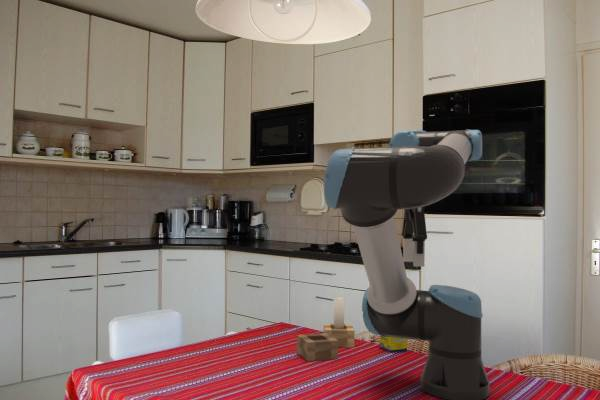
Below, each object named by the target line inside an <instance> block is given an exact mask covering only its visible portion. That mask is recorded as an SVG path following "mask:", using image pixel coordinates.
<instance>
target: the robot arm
mask: <svg viewBox="0 0 600 400" xmlns="http://www.w3.org/2000/svg"><path fill="white" fill-rule="evenodd" d="M482 156H483V135H482V131H480V129H465V130H463V129H462V130H446V131H445V130H444V131H426V130H422V129H409V130H400V131H397V132H396V133H394V135H392V136H391V138H390V141H389V145H388V146H386V147H385V146H380V147H361V148H356V147H355V146H353V147H351V148H340V149H336V150H335V151H334V152H332V154H331V155H330V157H329V158H328V162H327V163H326V167H325V173H324V180H323V181H324V182H323V194H324V201H325V204H326V206H327V207H328V208H330V209H333V210H337V209H339V210H340V213H341V217H342V219H343V220H344V221H345V223H346V224H348V225H349V226H352V227H353V231H354V234H355V238H356V241H357V244H358V248H359V252H360V256H361V259H362V263H363V265H364V269H365V272H366V273H365V274H366V276H367V279H368V283H369V284H368V285H369V286H368V288H366V290H365V291H364V293H363V297H362V300H361V301H362V302H361V311H362V320H363V323H364V325H365V328H366V329H367V331H368V332H369V333H370V334H372V335H376V336H379V337H380V336H383V337H394V338H404V339H407V340H415V341H423V342H428V356H427V358H426V361H425V364H424V367H423V371H422V372H421V375H420V376H421V377H420V388H421V389H422V391H424V392H425V393H427V394H429V395H430V396H434V397H436V398H440V399H444V400H484V399H487V398H488V397H489V396H490V381H489V379H488V375H487V372H486V369H485V366H484V362H483V360H482V359H483V358H482V319H483V316H484V314H483V309H482V299H481V297H480V295H478V294H477V293H475V292H473V291H471V290H468V289H464V288H461V287H456V286H450V285H441V284H432V285H430V286H429V288H428V290H424V289H423V290H421V289H417V287H416V285H415V283H414V281H412V280H411V279H410V277H407V271H406V266H405V262H413V265H412V266H413V267H425V248H426V247H425V243H426V240H427V239H428V236H427V226H426V225H427V224H426V217H425V207H426V206H427V207H428V206H430V205H432V204H435V203H437V202H440V201H441V200H443V199H445V198H446V197H448V196H450V195H451V194H452V193H454V192H455V191H456V190H457V189H458V188H459V186H460V185H461V184H462V182H463V180H464V178H465V174H466V164H467V162H471V161H479V160H481V158H482ZM399 210H403V212H404V213H403V220H402V227H401V228H402V230H401V236H402V238H403V246H402V247H403V248H402V249H401V244H400V239H399V234H398V229H397V224H396V219H395V216H396V215H397V214H398V211H399ZM402 251H403V252H402Z"/></svg>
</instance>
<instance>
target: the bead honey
mask: <svg viewBox="0 0 600 400" xmlns="http://www.w3.org/2000/svg"><path fill="white" fill-rule="evenodd" d="M322 333H327V334H328V335H330V336H332V337H333V338H335V339H337V340H338V348H355V328H354V326H353V324H352V323H344V329H334V323H323V331H322Z"/></svg>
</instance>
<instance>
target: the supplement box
mask: <svg viewBox="0 0 600 400" xmlns="http://www.w3.org/2000/svg"><path fill="white" fill-rule="evenodd" d="M379 348H380V349H383V350H385V351H387V352H389V353H392V354H394V353H401V352H400V351H402V352H407V351H408V339H404V338H394V337H383V336H380V335H379ZM405 350H406V351H405ZM393 352H394V353H393Z"/></svg>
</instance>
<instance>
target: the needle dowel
mask: <svg viewBox="0 0 600 400" xmlns="http://www.w3.org/2000/svg"><path fill="white" fill-rule="evenodd" d="M333 324H334V329H344V324H345V297H340V296H337V297H334V298H333Z"/></svg>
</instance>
